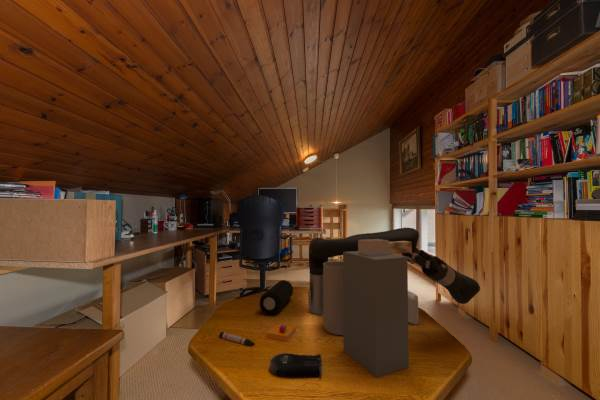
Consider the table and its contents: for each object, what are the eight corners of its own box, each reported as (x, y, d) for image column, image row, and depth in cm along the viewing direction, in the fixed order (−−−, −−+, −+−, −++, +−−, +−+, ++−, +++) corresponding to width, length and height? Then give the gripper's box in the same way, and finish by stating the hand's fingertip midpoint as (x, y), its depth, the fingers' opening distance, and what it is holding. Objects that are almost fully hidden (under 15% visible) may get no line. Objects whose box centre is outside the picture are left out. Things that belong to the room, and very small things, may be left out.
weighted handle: (402, 250, 93) (402, 237, 93) (414, 252, 88) (414, 239, 88) (358, 253, 85) (358, 239, 85) (368, 256, 80) (368, 241, 80)
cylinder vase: (329, 320, 112) (329, 260, 113) (359, 325, 106) (358, 262, 107) (318, 332, 101) (318, 265, 102) (350, 339, 95) (350, 268, 96)
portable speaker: (276, 297, 142) (276, 278, 142) (294, 298, 139) (294, 279, 140) (257, 315, 117) (257, 292, 117) (278, 317, 115) (279, 294, 115)
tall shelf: (372, 342, 92) (371, 250, 94) (408, 367, 78) (407, 257, 79) (343, 350, 87) (343, 251, 89) (376, 377, 73) (375, 259, 74)
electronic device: (319, 365, 82) (271, 357, 82) (322, 348, 81) (273, 340, 82) (320, 389, 72) (266, 380, 73) (323, 370, 72) (268, 361, 72)
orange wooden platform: (266, 338, 96) (266, 326, 96) (276, 329, 103) (276, 318, 103) (287, 342, 93) (287, 330, 93) (295, 333, 100) (295, 321, 101)
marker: (219, 338, 95) (219, 332, 96) (223, 336, 97) (223, 330, 97) (253, 348, 88) (253, 342, 88) (256, 346, 90) (257, 340, 90)
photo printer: (392, 317, 115) (391, 288, 115) (397, 315, 117) (397, 287, 118) (415, 325, 107) (414, 294, 107) (420, 323, 109) (419, 292, 110)
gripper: (425, 258, 103) (397, 238, 98) (460, 265, 91) (431, 243, 85) (418, 276, 102) (390, 257, 96) (453, 286, 89) (423, 264, 83)
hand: (409, 250), depth 91 cm, fingers open, 8 cm apart
